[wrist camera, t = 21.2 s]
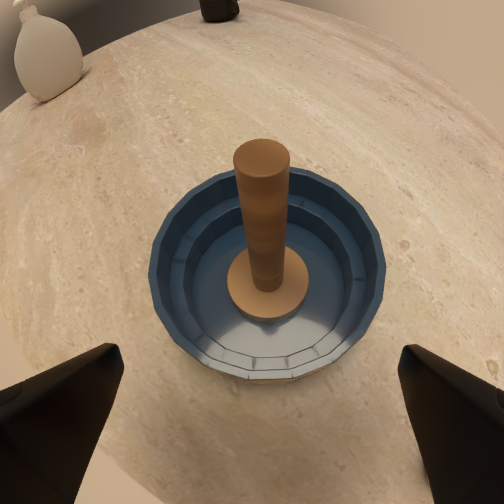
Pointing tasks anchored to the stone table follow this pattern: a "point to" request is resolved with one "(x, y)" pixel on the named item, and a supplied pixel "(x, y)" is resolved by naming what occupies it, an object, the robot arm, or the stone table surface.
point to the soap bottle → (46, 55)
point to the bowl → (234, 242)
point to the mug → (219, 9)
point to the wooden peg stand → (265, 237)
